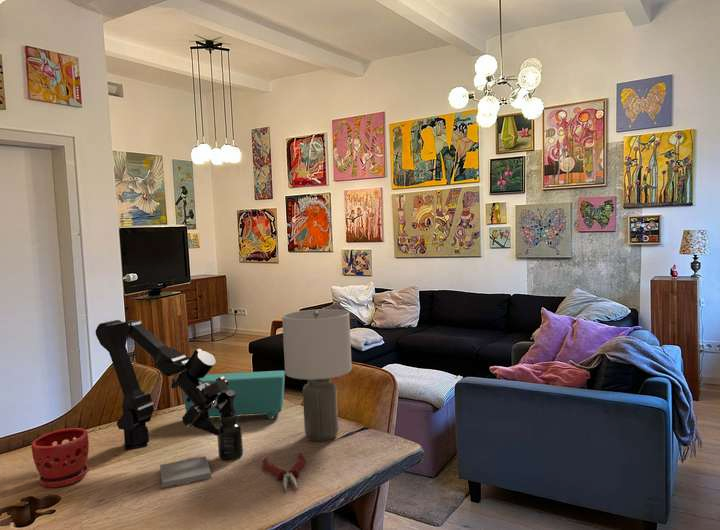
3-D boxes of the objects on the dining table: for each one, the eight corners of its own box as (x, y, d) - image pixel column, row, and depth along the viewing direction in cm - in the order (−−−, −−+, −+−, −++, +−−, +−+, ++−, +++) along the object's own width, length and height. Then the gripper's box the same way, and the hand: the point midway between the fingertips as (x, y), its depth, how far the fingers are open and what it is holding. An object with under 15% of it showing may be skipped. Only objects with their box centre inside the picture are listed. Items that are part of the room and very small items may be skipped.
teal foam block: (287, 410, 197) (285, 369, 196) (284, 420, 186) (282, 376, 186) (191, 416, 195) (188, 374, 194) (183, 426, 185) (180, 382, 184)
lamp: (367, 437, 167) (362, 310, 164) (308, 455, 155) (302, 318, 153) (332, 420, 183) (327, 305, 181) (277, 435, 172) (270, 312, 170)
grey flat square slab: (162, 488, 138) (162, 482, 138) (160, 470, 150) (160, 464, 149) (211, 478, 143) (211, 472, 143) (205, 461, 154) (205, 456, 154)
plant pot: (53, 470, 153) (50, 428, 152) (100, 469, 152) (97, 426, 152) (23, 492, 140) (19, 446, 139) (74, 491, 139) (70, 444, 139)
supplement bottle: (248, 453, 158) (245, 412, 158) (233, 463, 152) (230, 420, 152) (228, 450, 161) (226, 410, 161) (213, 459, 155) (211, 418, 154)
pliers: (267, 498, 131) (267, 487, 131) (262, 465, 151) (261, 456, 151) (315, 491, 134) (314, 480, 134) (303, 459, 154) (303, 450, 154)
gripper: (187, 378, 149) (224, 421, 145) (228, 362, 166) (262, 400, 163) (166, 405, 152) (202, 447, 149) (208, 386, 169) (241, 424, 166)
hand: (228, 428), depth 156 cm, fingers open, 9 cm apart
